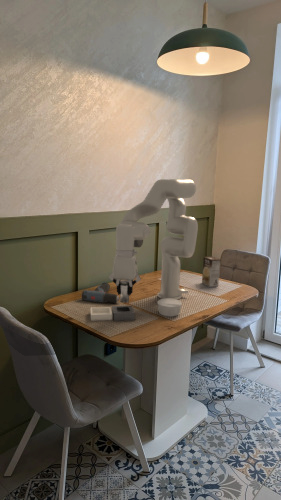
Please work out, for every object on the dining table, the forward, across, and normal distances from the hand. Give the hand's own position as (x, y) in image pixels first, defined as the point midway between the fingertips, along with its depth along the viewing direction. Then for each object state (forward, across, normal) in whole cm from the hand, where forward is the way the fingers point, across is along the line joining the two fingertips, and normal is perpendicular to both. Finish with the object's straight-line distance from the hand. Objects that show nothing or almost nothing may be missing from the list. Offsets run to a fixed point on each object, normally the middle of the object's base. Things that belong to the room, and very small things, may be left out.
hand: (124, 293), depth 155 cm
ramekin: (+11, -19, -9) cm, 24 cm away
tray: (+10, +10, +3) cm, 14 cm away
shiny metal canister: (+3, 0, 0) cm, 3 cm away
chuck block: (+10, 0, +1) cm, 10 cm away
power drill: (+11, +15, -23) cm, 30 cm away
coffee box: (+13, -38, -63) cm, 74 cm away
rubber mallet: (+12, +8, -46) cm, 49 cm away
